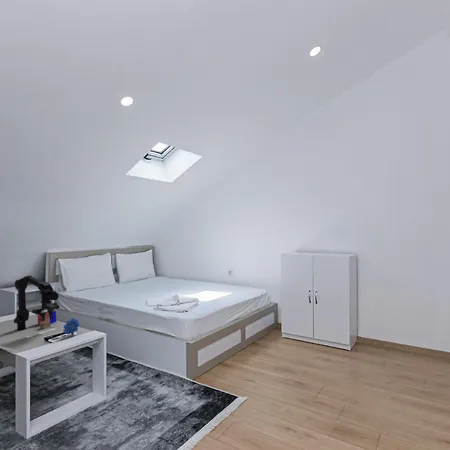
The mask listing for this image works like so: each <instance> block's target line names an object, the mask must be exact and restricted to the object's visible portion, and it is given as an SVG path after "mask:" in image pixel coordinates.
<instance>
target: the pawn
mask: <svg viewBox="0 0 450 450" xmlns="http://www.w3.org/2000/svg"><path fill="white" fill-rule="evenodd" d="M44 317H45V321H44V322H49V321H50V317H49V312H47V311H46V312H45V314H44Z"/></svg>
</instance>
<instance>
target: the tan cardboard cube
mask: <svg viewBox="0 0 450 450" xmlns="http://www.w3.org/2000/svg"><path fill="white" fill-rule="evenodd" d="M39 327H40V329H42V330H45V329H51V328H50V327H51V324H50V321H49V322H41V323H40V325H39Z"/></svg>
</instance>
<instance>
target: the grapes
mask: <svg viewBox="0 0 450 450" xmlns="http://www.w3.org/2000/svg"><path fill="white" fill-rule="evenodd" d="M80 325H81V324H80V322H79V319H77V318H76V319H75V318H74V317H72V318H71V319H68V320H67V321H66V323H65V324H63V331H62V332H63V333H64V334H65V335H66V334H70V333H71V334H73V335H74V334H75V333H76V332H77V331H79V327H80ZM71 334H70V335H71Z"/></svg>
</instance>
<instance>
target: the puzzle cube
mask: <svg viewBox="0 0 450 450" xmlns="http://www.w3.org/2000/svg"><path fill="white" fill-rule="evenodd" d="M56 310H57V309H54V311H53V312H52V315H51V318H50V325H52V324H54V323H56V322H57V311H56ZM46 311H47V310H45V311H44V312H46ZM36 315H37V325H38V326H40V323H41V322H44V321H43V320H42V318H41V316H40V315H39V314H36Z"/></svg>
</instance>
